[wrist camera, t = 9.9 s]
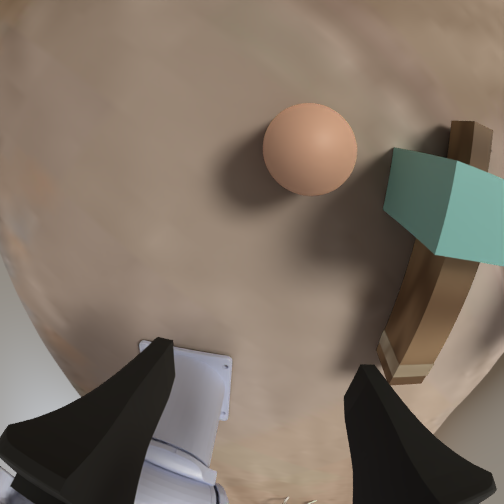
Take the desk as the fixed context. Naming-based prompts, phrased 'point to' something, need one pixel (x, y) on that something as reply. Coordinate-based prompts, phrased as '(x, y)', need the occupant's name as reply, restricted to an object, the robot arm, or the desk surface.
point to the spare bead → (309, 149)
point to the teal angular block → (447, 206)
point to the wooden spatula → (432, 284)
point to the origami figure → (288, 498)
